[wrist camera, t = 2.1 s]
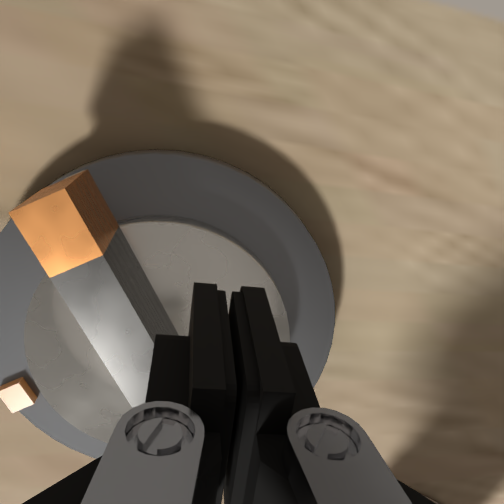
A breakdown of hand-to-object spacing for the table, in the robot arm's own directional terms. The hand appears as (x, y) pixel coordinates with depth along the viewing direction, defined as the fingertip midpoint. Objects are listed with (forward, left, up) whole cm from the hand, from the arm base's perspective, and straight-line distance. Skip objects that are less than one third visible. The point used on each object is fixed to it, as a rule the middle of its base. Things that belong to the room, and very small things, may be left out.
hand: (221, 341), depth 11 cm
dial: (-5, +6, -14) cm, 16 cm away
